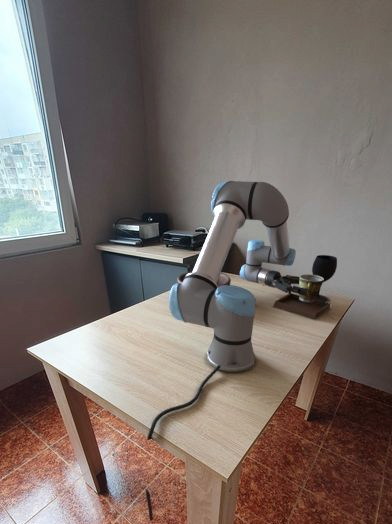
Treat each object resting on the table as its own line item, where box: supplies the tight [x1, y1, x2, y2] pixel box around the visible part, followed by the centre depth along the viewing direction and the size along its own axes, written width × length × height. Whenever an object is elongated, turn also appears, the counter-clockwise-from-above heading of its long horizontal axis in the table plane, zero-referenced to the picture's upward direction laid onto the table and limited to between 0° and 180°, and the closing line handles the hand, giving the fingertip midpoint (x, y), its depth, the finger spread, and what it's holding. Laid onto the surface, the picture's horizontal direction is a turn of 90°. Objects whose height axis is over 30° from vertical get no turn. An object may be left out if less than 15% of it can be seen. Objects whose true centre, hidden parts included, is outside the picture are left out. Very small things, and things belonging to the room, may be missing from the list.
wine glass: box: [311, 254, 338, 303], centre depth 137 cm, size 10×10×20 cm
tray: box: [273, 292, 331, 321], centre depth 131 cm, size 16×20×3 cm
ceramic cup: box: [298, 274, 324, 302], centre depth 126 cm, size 13×10×10 cm
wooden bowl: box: [176, 271, 232, 287], centre depth 137 cm, size 25×25×10 cm
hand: (313, 288), depth 125 cm, fingers closed on ceramic cup, 12 cm apart
